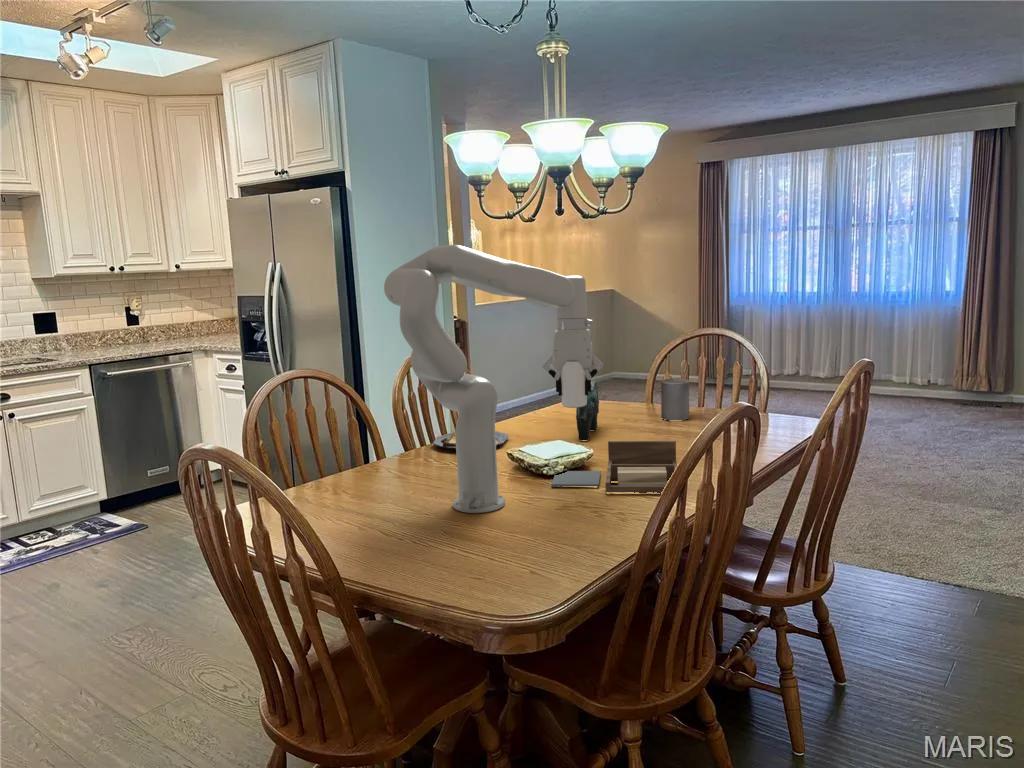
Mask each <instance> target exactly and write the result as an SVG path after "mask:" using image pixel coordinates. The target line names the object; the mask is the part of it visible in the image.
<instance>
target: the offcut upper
mask: <svg viewBox="0 0 1024 768" xmlns="http://www.w3.org/2000/svg"><path fill="white" fill-rule="evenodd" d="M618 482H667V472H666V467H618Z"/></svg>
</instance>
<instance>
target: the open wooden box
mask: <svg viewBox="0 0 1024 768" xmlns="http://www.w3.org/2000/svg"><path fill="white" fill-rule="evenodd" d="M607 445H608V446H607V449H608V452H607V453H608V460H607V461H608V462H607V467H606V469H607V470H606V475H605V476H606V477H605V493H606V492H634V493H635V492H639V493H647V492H653V493H654V492H657V493H660V494H661V492H662V491H663V489H664V487H665V486H621V485H618V484H611V481H618V467H666V472H667V481H668V480H669V478H670V477H671V475H672V473H673V472H674V470H675V468H676V467H677V468H678V463H677V442H676V440H608V442H607Z"/></svg>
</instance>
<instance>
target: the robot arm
mask: <svg viewBox="0 0 1024 768" xmlns="http://www.w3.org/2000/svg"><path fill="white" fill-rule="evenodd" d="M442 283H454V284H457V285H462V286H463V287H469V288H472V289H475V290H479V291H482V292H486V293H489V294H492V295H497V296H501V297H513V298H514V297H516V298H523V299H526V301H527V302H528V303H529V304H530V305H532V306H535V307H538V308H541V307H542V308H556V330H554V332H553V333H554V334H553V339H552V340H553V342H552V355H551V356H550V357H549V358H548V359H547V360H546V361H545V362H544V363H543V365H542V369H544V370H545V371H546V372H547V373H548V374H549V375H550V376H551V377H552V378H553V379H554V380H555V392H556V393H558V396H559V397H562V396H561V395H562V389H561V371H562V369H563V366H564V365H565V364H566V362H567V361H578V363H579V364H580V365H581V366H582V368H583V369H584V373H585V375H586V380H585V395H586V396H588V394H589V392H591V381H592V379H593V377H595V375H597V373H598V372H600V371H601V369H602V368H603V367H604V365H605V364H604V363H603V362H602V361H601V360H600V359H599V358H598V357H597V356H596V355H595V354H594V353H593V352H594V351H593V350H594V349H593V340H592V334H591V329H588V327H590V326H593V319H589V318H588V317H587V288H586V287H587V285H586V284H587V283H586V279H585V277H584V276H582V275H562V274H560V273H557V272H553V271H551V270H547V269H543V268H540V267H537V266H536V267H535V266H531V265H527V264H523V263H520V262H517V261H512V260H507V259H504V258H501V257H498V256H495V255H491V254H488V253H485V252H482V251H479V250H477V249H473V248H470V247H466V246H464V245H460V244H448V245H438V246H435V247H431V249H429V250H427V251H425V252H423V253H421V254H420V255H418V256H415V257H414V258H413V259H411V260H409V261H407V262H405V263H404V264H403V265H400V266H399V267H397V268H395V269H393V270H392V271H391V272H390V273H389V274H388V276H386V278H385V280H384V284H383V291H384V295H385V297H386V298H387V300H388V301H389V302H390V303H392V304H393V305H396V306H398V307H400V308H399V328H400V332H401V334H402V335H403V338H404V339H405V341H406V342H407V344H408V345H409V346H410V348H411V349H412V351H411V355H410V366H411V368H412V371H413V372H414V374H415V376H416V377H417V378H418V379H419V380H420V382H421V383H422V384H423V385H424V387H426V389H427V390H428V391H429V393H430V394H431V395H432V396H433V397H434V398H435V399H436V401H437V402H438V403H440V405H441V406H442V407H444V408H445V409H447V410H450V411H452V412H455V413H457V415H458V416H457V419H456V420H457V421H456V425H455V431H454V432H455V440H456V448H455V451H456V452H455V454H456V467H457V468H456V471H457V483H458V484H457V488H458V489H457V490H458V497H456V498H455V499H453V501H452V507H453V509H454V510H456V511H459V512H462V513H467V514H481V513H489V512H494V511H496V510H499V509H501V508H503V507H504V506H505V505H506V499H505V498H506V497H504V496H503V495H501V494H499V482H498V481H499V480H498V461H497V459H498V457H497V446H496V439H495V431H496V417H497V416H496V415H497V407H498V393H497V389H496V387H495V386H494V385H493V383H492V382H491V381H490V380H488V379H487V378H485V377H483V376H480V375H476V374H470V373H467V368H468V361H467V357H466V355H465V354H464V352H463V351H462V349H461V348H460V347H459V346H458V345H457V343H456V342H455V341H454V340H453V339H452V337H451V335H449V333H448V332H447V331H446V329H445V328H444V327H443V326H442V323H441V322H440V321H439V318H438V316H437V310H436V308H437V303H438V297H439V292H440V285H441V284H442ZM551 364H552V366H553V368H552V367H551ZM593 364H595V365H596V366H595V367H594V368H593V369H592V370H590V369H591V368H592V366H594V365H593ZM555 369H556V371H555Z"/></svg>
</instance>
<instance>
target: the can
mask: <svg viewBox="0 0 1024 768" xmlns="http://www.w3.org/2000/svg"><path fill="white" fill-rule="evenodd" d="M560 377H561V389H562V395H561V396H560V397H561V405H562V407H563V408H570V409H571V408H572V409H574V408H576V409H577V408H578V407H584V406H586V404H587V396H586V395H585V380H586V375H585V373H584V369H583V368H582V366H581V365H580V364H579V363H578V361H567V362H566V364H565V365H564V366H563V369H562V371H561V376H560Z"/></svg>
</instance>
